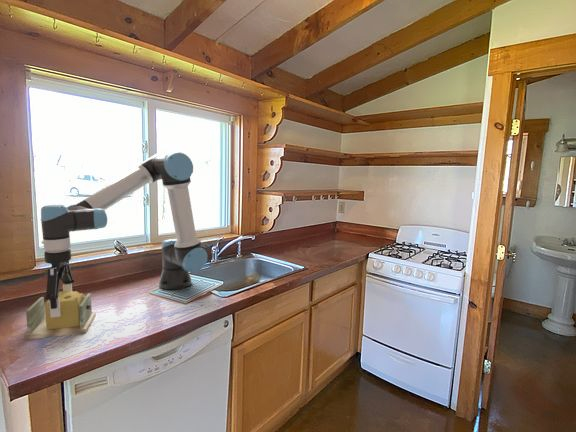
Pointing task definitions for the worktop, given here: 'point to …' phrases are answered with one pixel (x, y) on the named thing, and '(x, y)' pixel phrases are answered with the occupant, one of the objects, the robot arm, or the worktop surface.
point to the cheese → (65, 310)
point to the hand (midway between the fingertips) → (62, 308)
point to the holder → (39, 328)
